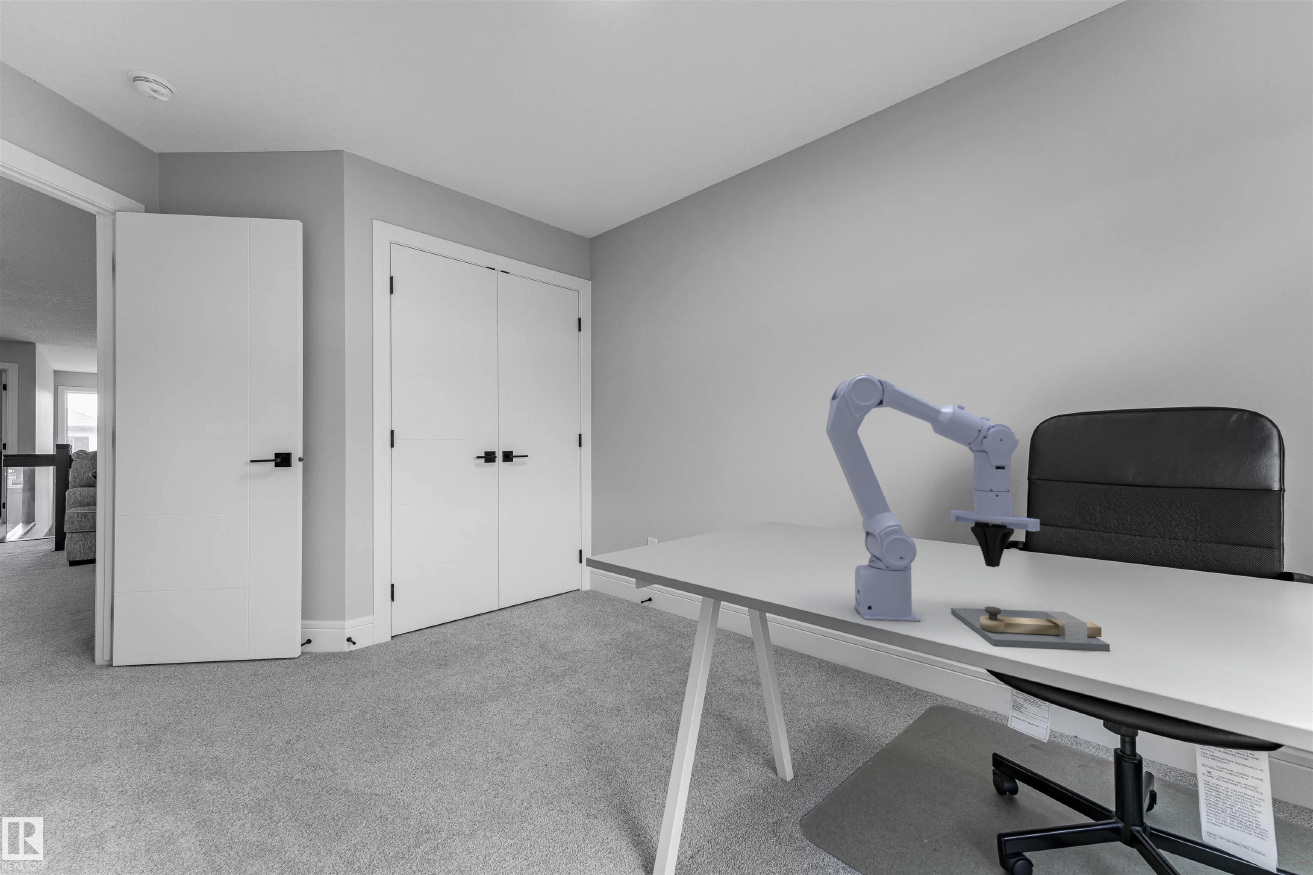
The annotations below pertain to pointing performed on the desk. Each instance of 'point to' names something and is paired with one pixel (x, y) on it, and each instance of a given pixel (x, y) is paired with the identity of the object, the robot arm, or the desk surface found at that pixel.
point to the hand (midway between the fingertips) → (992, 565)
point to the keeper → (1069, 627)
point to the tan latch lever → (1026, 624)
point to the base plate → (1022, 639)
